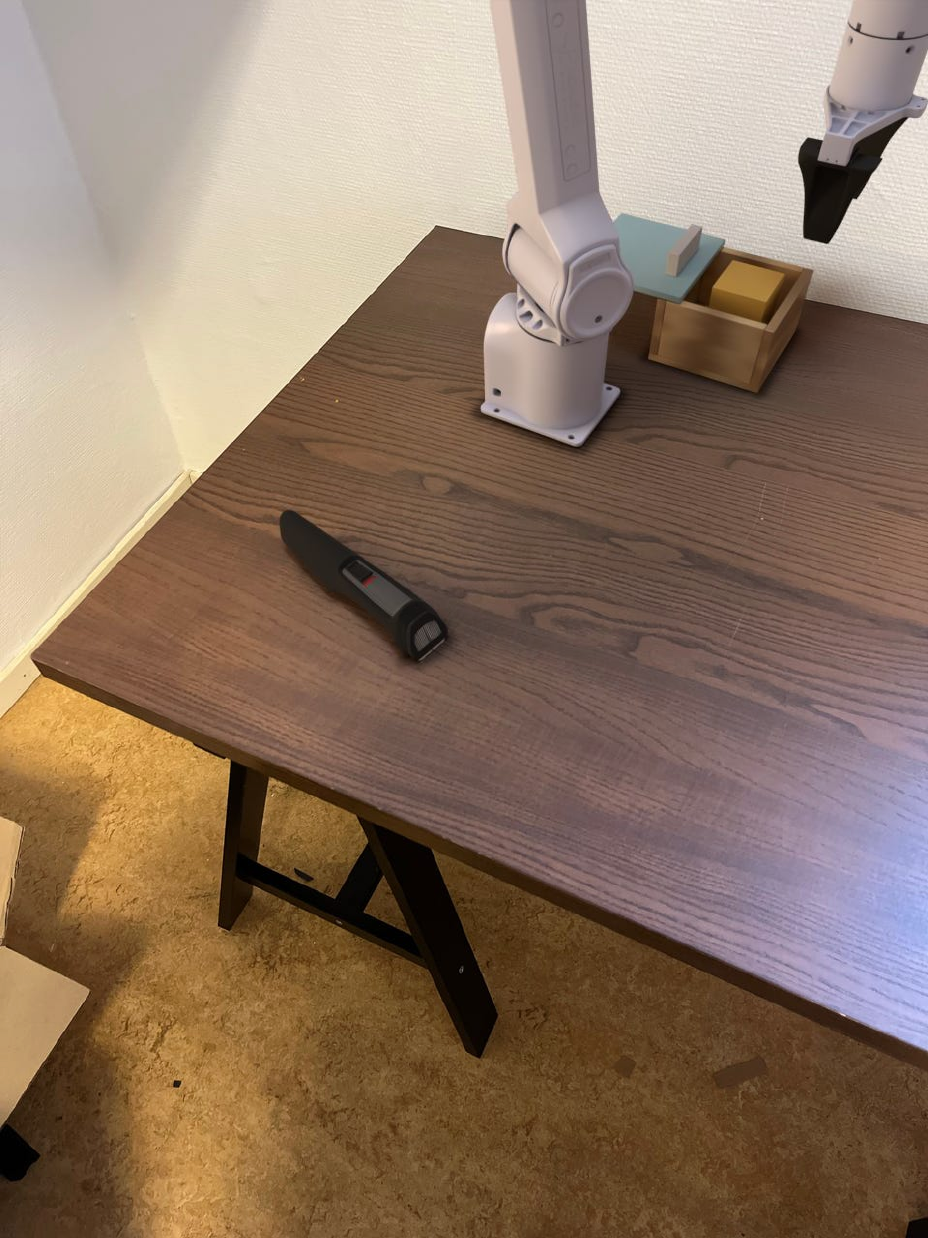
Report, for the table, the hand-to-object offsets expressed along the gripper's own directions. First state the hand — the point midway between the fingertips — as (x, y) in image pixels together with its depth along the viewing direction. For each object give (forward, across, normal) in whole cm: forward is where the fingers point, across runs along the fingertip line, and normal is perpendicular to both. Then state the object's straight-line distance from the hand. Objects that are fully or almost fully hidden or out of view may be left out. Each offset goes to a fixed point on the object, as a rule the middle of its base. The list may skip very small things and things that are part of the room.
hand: (831, 216), depth 70 cm
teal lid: (+4, -5, +13) cm, 15 cm away
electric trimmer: (+11, -45, +17) cm, 49 cm away
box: (+10, -6, +5) cm, 13 cm away
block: (+10, -6, +4) cm, 12 cm away
